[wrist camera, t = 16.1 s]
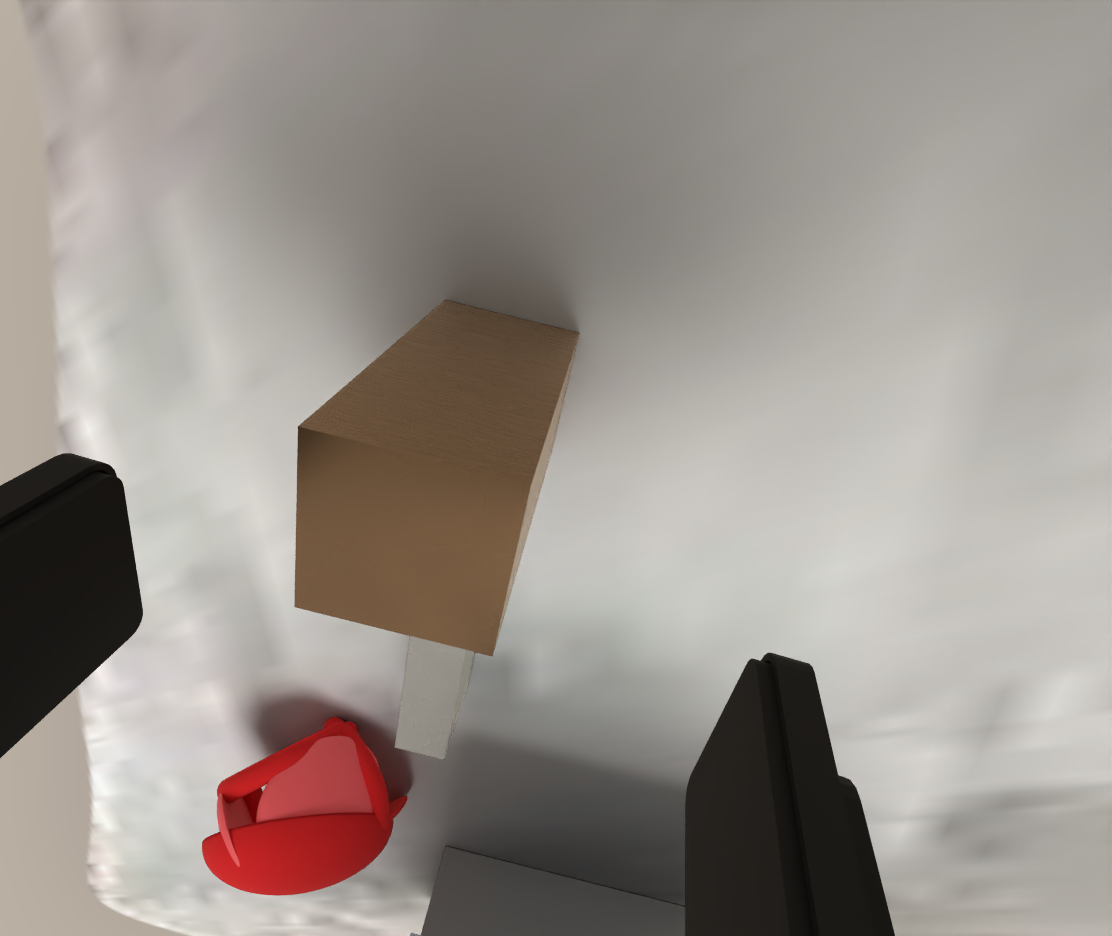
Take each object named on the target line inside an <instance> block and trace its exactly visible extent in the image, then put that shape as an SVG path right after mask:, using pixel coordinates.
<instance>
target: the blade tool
mask: <svg viewBox="0 0 1112 936" xmlns="http://www.w3.org/2000/svg"><path fill="white" fill-rule="evenodd" d="M578 337H579V333H577V332H573V331H569V330H565V329H561V328H557V327H552V326H548V325H544V324H540V323H536V322H532V321H528V320H524V319H520V318H516V317H512V316H508V315H504V314H500V313H496V312H491V311H487V310H483V309H479V308H475V307H471V306H467V305H463V304H459V303H455V302H451V301H447V300H445V301H443V302H442V303H441V304H440V305H439V306H438V307H436V308H435V309H434V310H433V311H432V312H431V313H429V314H428V315H427V316H426V317H425V318H424V319H422V320H421V321H420V322H419V323H418V324H417V325H415V326H414V327H413V328H412V329H411V330H410V331H409V332H407V333H406V334H405V335H404V336H403V337H402V338H400V339H399V340H398V341H397V342H396V343H395V344H393V345H392V346H391V347H390V348H389V349H388V350H386V351H385V352H384V353H383V354H382V355H381V356H379V357H378V358H377V359H376V360H375V361H374V362H373V363H371V364H370V365H369V366H368V367H367V368H366V369H364V370H363V371H362V372H361V373H360V374H359V375H357V376H356V377H355V378H354V379H353V380H352V381H350V382H349V383H348V384H347V385H346V386H345V387H343V388H342V389H341V390H340V391H339V392H338V393H337V394H335V395H334V396H333V397H332V398H331V399H330V400H328V401H327V402H326V403H325V404H324V405H323V406H321V407H320V408H319V409H318V410H317V411H316V412H314V413H313V414H312V415H311V416H310V417H309V418H307V419H306V420H305V421H304V422H303V423H302V424H301V425H299V426H298V460H297V511H296V562H295V607H297V608H301V609H305V610H309V611H313V612H317V613H321V614H325V615H329V616H333V617H337V618H341V619H345V620H349V621H353V622H357V623H361V624H365V625H369V626H373V627H377V628H381V629H385V630H389V631H393V632H397V633H401V634H405V635H409V636H410V639H409V646H408V654H407V661H406V668H405V676H404V683H403V690H402V698H401V705H400V712H399V719H398V727H397V734H396V741H395V748H399V749H403V750H407V751H411V752H415V753H419V754H423V755H427V756H431V757H435V758H439V759H443V760H444V759H445V756H446V753H447V750H448V747H449V743H450V740H451V737H452V734H453V731H454V728H455V724H456V721H457V718H458V715H459V712H460V709H461V706H462V702H463V699H464V696H465V693H466V690H467V687H468V683H469V678H470V673H471V668H472V663H473V659H474V654H475V652H477V653H481V654H485V655H489V656H493V653H494V650H495V646H496V643H497V639H498V636H499V632H500V629H501V625H502V622H503V618H504V615H505V611H506V608H507V605H508V601H509V598H510V594H511V591H512V587H513V584H514V580H515V577H516V573H517V570H518V566H519V563H520V559H521V556H522V552H523V549H524V546H525V542H526V539H527V535H528V532H529V528H530V525H531V521H532V518H533V514H534V511H535V507H536V504H537V500H538V497H539V493H540V490H541V487H542V483H543V480H544V476H545V473H546V469H547V466H548V462H549V459H550V455H551V452H552V447H553V443H554V439H555V435H556V430H557V426H558V422H559V418H560V413H561V409H562V405H563V401H564V397H565V392H566V388H567V384H568V380H569V375H570V371H571V367H572V363H573V358H574V354H575V350H576V346H577V342H578Z"/></svg>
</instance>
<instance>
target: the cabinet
mask: <svg viewBox="0 0 1112 936" xmlns="http://www.w3.org/2000/svg"><path fill="white" fill-rule="evenodd" d="M410 936H685V907H684V906H680V905H676V904H672V903H668V902H664V901H660V900H656V899H652V898H648V897H644V896H640V895H636V894H632V893H628V892H624V891H620V890H616V889H613V888H609V887H605V886H601V885H597V884H593V883H589V882H585V881H581V880H577V879H573V878H569V877H565V876H561V875H557V874H553V873H549V872H545V871H541V870H537V869H533V868H529V867H525V866H522V865H518V864H514V863H510V862H506V861H502V860H498V859H494V858H490V857H486V856H482V855H478V854H474V853H470V852H466V851H462V850H458V849H454V848H450V847H445V850H444V854H443V857H442V861H441V864H440V868H439V872H438V875H437V879H436V882H435V886H434V890H433V893H432V897H431V900H430V904H429V907H428V911H427V915H426V918H425V922H424V925H423V929H422V933H421V935H418V934H414V933H411V935H410Z"/></svg>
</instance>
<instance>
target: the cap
mask: <svg viewBox="0 0 1112 936" xmlns="http://www.w3.org/2000/svg"><path fill="white" fill-rule="evenodd" d="M266 784H267V785H266ZM264 785H266V787H265V789H264V791H262V788H261V787H262V786H264ZM217 796H218V800H217V818H218V825H219V830H220V832H218V833H216V834H213V835H211V836H209V837H207V838H206V839H204V840H203V842H202V852H203V856H204V860H205V862H206V864H207V866H208V868H209V869H210V870H211V871H212V873H213V874H214V875H215V876H216V877H218V878H219V879H220V880H222V881H223V882H225V883H226V884H228V885H230V886H232V887H235V888H237V889H240V890H243V891H246V892H251V893H256V894H263V895H292V894H300V893H306V892H311V891H315V890H319V889H322V888H325V887H328V886H331V885H334V884H336V883H339V882H341V881H343V880H345V879H347V878H349V877H351V876H353V875H354V874H356V873H358V872H359V871H361V870H362V869H363V868H365V867H366V866H367V865H369V864H370V863H371V862H372V861H373V860H374V859H375V858H376V857H377V856H378V855H379V854H380V853H381V851H382V850H383V849H384V847H385V846H386V844H387V842H388V840H389V838H390V836H391V832H392V828H393V818H394V817H395V816H396V815H397V814H398V813H399V812H400V811H401V810H402V808H403V807H404V805H405V804H406V802H407V796H402V797H400V798H398V799H395V800H393V801H391V802H389V797H388V791H387V787H386V784H385V781H384V778H383V775H382V773H381V771H380V769H379V765H378V762H377V760H376V758H375V756H374V754H373V752H372V751H371V750H370V749H369V748H368V747H367V746H366V744H365V743H364V741H363V740H362V738H361V737H360V736H359V735H358V728H357V726H356V725H355V724H354V723H353V722H350V721H348V722H344V721H343V720H341V719H340V718H338V717H332V718H329V719H328V720H327V721H326V722H325V724H324V729H322V730H320V731H318V732H316V733H314V734H312V735H310V736H308V737H306V738H304V739H302V740H300V741H298V742H296V743H294V744H292V745H290V746H288V747H286V748H284V749H282V750H280V751H278V752H276V753H274V754H272V755H270V756H268V757H266V758H265V759H263V760H261V761H259V762H257V763H255V764H253V765H251V766H249V767H247V768H245V769H244V770H242V771H240V772H238V773H236V774H234V775H232V776H230V777H229V778H227V779H225V780H223V781H222V782H221V783H220V784H219V786H218V789H217Z"/></svg>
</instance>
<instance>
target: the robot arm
mask: <svg viewBox="0 0 1112 936" xmlns="http://www.w3.org/2000/svg"><path fill="white" fill-rule="evenodd" d="M142 616H143V608H142V602H141V596H140V589H139V583H138V576H137V570H136V563H135V557H134V550H133V544H132V538H131V531H130V525H129V518H128V512H127V505H126V499H125V493H124V486H123V483H122V481H121V480H120V479H119V478H117V476H116V473H115V470H114V469H113V468H112V467H111V466H110V465H108V464H106V463H103V462H99V461H96V460H92V459H89V458H85V457H82V456H78V455H75V454H71V453H65V454H61V455H58V456H55V457H53V458H51V459H49V460H48V461H46V462H44V463H42V464H40V465H39V466H36V467H35V468H33V469H31V470H29V471H27V472H25V473H23V474H21V475H19V476H18V477H16V478H14V479H12V480H10V481H8V482H6V483H4V484H3V485H1V486H0V758H1V757H2V756H3V755H4V754H5V753H6V752H7V751H8V750H10V748H12V747H13V746H14V745H15V744H16V743H17V742H18V741H19V740H20V739H21V738H23V736H25V735H26V734H27V733H28V732H29V731H30V730H31V729H32V728H33V727H34V726H35V725H36V724H37V723H39V722H40V721H41V720H42V719H43V718H44V717H45V716H46V715H47V714H48V713H49V712H50V711H52V710H53V709H54V708H55V707H56V706H57V705H58V704H59V703H60V702H61V701H62V700H63V699H65V698H66V697H67V696H68V695H69V694H70V693H71V692H72V691H73V690H74V689H75V688H76V687H77V686H79V685H80V684H81V683H82V682H83V681H84V680H85V679H86V678H87V677H88V676H89V675H90V674H91V673H93V672H94V671H95V670H96V669H97V668H98V667H99V666H100V665H101V664H102V663H103V662H104V661H105V660H107V659H108V658H109V657H110V656H111V655H112V654H113V653H114V652H115V651H116V650H117V649H118V648H119V647H121V646H122V645H123V644H124V643H125V642H126V641H127V640H128V639H129V638H130V637H131V636H132V635H133V634H134V633H135V632H136V630H137V629H138V627H139V625H140V623H141V620H142ZM685 936H895V934H894V930H893V926H892V922H891V918H890V914H889V910H888V906H887V902H886V898H885V894H884V890H883V887H882V883H881V879H880V875H879V871H878V867H877V863H876V859H875V855H874V851H873V847H872V843H871V839H870V835H869V831H868V827H867V823H866V819H865V816H864V812H863V808H862V804H861V800H860V797H859V795H858V792H857V789H856V787H855V786H854V784H853V783H852V782H851V780H849V779H847V778H845V777H842V776H839V775H838V773H837V768H836V764H835V760H834V755H833V751H832V747H831V742H830V738H829V734H828V729H827V725H826V720H825V716H824V712H823V707H822V703H821V699H820V694H819V690H818V685H817V681H816V677H815V673H814V670H813V667H812V666H811V665H810V664H808V663H805V662H801V661H798V660H794V659H791V658H787V657H784V656H780V655H777V654H773V653H767V654H766V655H764V657H763V658H762V660H761V661H759V660H755V659H750V660H749V661H748V663H747V665H746V666H745V668H744V670H743V672H742V674H741V676H740V678H739V680H738V682H737V684H736V686H735V688H734V690H733V692H732V694H731V696H730V698H729V700H728V702H727V704H726V706H725V708H724V710H723V712H722V714H721V716H720V718H719V720H718V722H717V724H716V726H715V728H714V730H713V732H712V734H711V736H710V738H709V740H708V742H707V744H706V746H705V748H704V750H703V752H702V754H701V756H700V758H699V760H698V762H697V764H696V766H695V768H694V770H693V771H692V774H691V776H690V779H689V782H688V786H687V792H686V803H685Z"/></svg>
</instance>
